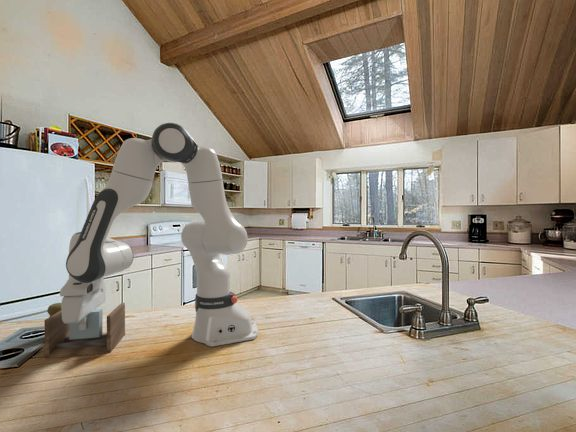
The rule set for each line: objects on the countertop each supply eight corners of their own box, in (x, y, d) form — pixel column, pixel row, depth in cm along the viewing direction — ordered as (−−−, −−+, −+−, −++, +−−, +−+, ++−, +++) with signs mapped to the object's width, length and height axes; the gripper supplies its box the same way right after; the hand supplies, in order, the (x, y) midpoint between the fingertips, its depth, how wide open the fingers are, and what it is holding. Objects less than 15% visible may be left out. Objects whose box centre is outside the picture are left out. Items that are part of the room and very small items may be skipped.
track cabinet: (125, 334, 96) (124, 302, 96) (110, 352, 84) (110, 316, 84) (68, 338, 92) (67, 305, 92) (44, 358, 81) (44, 320, 80)
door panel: (102, 333, 90) (102, 308, 89) (99, 337, 87) (99, 311, 87) (73, 336, 88) (73, 310, 88) (69, 339, 85) (69, 313, 85)
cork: (56, 341, 91) (55, 307, 90) (41, 339, 92) (40, 306, 92) (73, 333, 97) (73, 301, 96) (59, 331, 98) (59, 300, 98)
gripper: (90, 275, 97) (90, 315, 97) (56, 292, 77) (56, 342, 77) (111, 274, 98) (110, 313, 98) (82, 291, 78) (82, 340, 78)
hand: (86, 326), depth 87 cm, fingers closed on door panel, 2 cm apart
